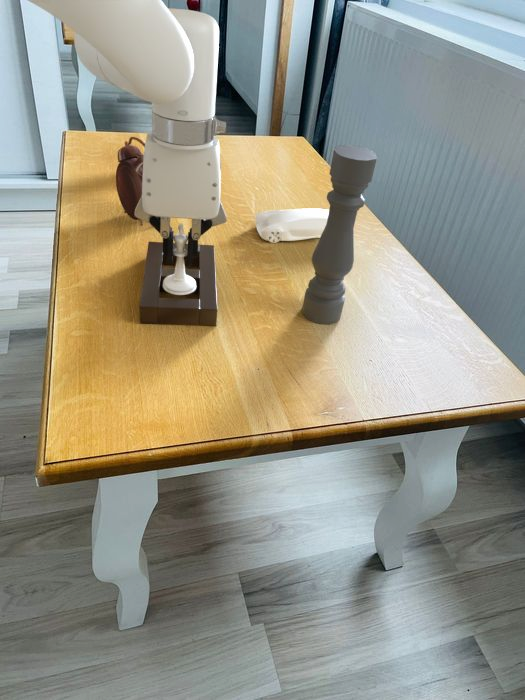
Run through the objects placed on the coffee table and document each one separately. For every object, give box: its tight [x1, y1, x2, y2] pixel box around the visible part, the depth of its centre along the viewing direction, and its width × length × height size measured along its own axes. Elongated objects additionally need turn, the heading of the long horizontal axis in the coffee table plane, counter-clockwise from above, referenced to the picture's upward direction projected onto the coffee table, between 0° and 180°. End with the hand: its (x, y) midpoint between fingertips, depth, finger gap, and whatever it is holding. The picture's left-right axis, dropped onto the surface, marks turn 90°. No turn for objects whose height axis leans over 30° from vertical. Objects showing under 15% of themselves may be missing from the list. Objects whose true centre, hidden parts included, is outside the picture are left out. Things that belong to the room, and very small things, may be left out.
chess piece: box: [163, 222, 196, 296], centre depth 79 cm, size 5×5×10 cm
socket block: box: [138, 241, 218, 327], centre depth 86 cm, size 11×19×3 cm, turn 5°
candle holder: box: [301, 144, 378, 325], centre depth 79 cm, size 6×6×25 cm
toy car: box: [254, 207, 329, 244], centre depth 106 cm, size 18×8×4 cm, turn 102°
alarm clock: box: [115, 136, 145, 227], centre depth 100 cm, size 11×5×15 cm, turn 40°
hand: (180, 259), depth 79 cm, fingers closed on chess piece
